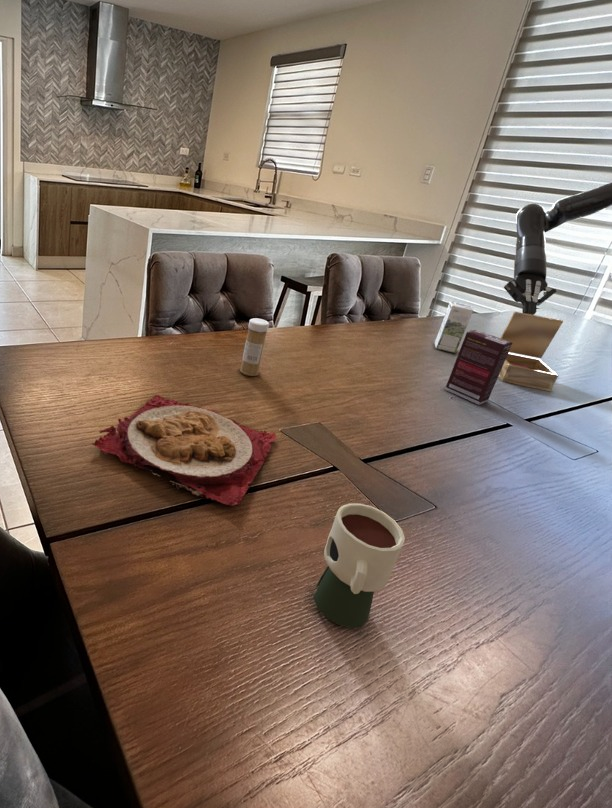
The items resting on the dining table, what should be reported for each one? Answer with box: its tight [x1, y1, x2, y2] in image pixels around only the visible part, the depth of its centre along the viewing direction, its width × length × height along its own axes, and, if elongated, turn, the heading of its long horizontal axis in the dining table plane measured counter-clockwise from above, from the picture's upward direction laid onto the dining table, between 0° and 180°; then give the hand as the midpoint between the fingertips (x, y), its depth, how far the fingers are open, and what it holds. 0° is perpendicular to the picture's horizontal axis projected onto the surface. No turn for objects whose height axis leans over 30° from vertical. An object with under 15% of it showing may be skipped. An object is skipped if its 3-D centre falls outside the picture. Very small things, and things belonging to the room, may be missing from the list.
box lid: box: [500, 311, 564, 359], centre depth 131 cm, size 12×12×1 cm
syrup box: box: [434, 300, 474, 354], centre depth 144 cm, size 6×6×14 cm
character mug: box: [313, 502, 406, 629], centre depth 54 cm, size 11×7×13 cm, turn 155°
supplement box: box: [444, 329, 513, 406], centre depth 113 cm, size 9×5×16 cm, turn 34°
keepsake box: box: [498, 352, 559, 392], centre depth 131 cm, size 12×12×5 cm
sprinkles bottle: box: [239, 317, 270, 377], centre depth 112 cm, size 5×5×14 cm
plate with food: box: [91, 394, 277, 507], centre depth 83 cm, size 24×26×3 cm
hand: (529, 315), depth 133 cm, fingers closed
